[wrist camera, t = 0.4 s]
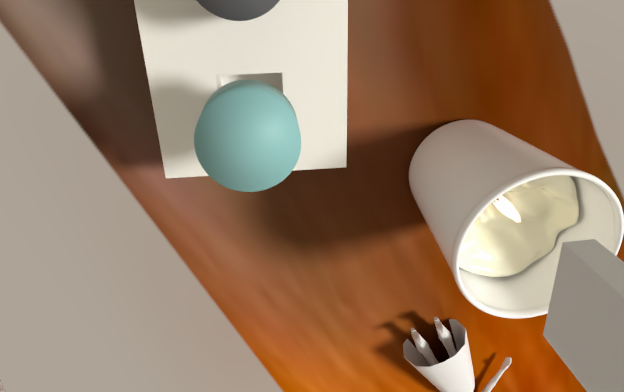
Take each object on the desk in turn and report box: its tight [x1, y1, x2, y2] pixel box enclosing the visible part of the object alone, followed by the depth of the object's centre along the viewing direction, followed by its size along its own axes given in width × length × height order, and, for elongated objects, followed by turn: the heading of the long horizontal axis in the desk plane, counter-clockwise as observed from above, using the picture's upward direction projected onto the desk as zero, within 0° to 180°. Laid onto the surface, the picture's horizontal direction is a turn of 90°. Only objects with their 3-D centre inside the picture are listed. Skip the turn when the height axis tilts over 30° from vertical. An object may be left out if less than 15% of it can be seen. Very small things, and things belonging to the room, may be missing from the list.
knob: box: [194, 79, 301, 192], centre depth 26 cm, size 5×5×7 cm
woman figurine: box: [403, 317, 512, 392], centre depth 45 cm, size 12×4×18 cm
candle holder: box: [409, 120, 624, 318], centre depth 31 cm, size 10×10×12 cm
